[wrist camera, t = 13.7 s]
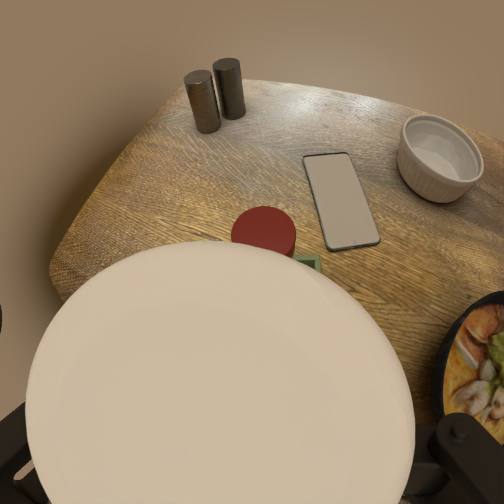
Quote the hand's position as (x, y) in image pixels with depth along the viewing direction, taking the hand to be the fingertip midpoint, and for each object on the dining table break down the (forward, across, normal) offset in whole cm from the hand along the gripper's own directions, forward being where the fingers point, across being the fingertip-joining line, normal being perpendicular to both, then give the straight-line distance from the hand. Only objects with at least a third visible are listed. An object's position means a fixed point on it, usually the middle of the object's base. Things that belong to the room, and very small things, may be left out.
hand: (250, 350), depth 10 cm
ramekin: (+35, -25, -3) cm, 43 cm away
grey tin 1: (+42, +9, -10) cm, 44 cm away
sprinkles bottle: (+3, 0, +6) cm, 7 cm away
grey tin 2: (+44, +6, -13) cm, 46 cm away
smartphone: (+31, -9, 0) cm, 33 cm away
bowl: (+14, -24, +18) cm, 33 cm away
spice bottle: (+22, 0, +9) cm, 24 cm away
